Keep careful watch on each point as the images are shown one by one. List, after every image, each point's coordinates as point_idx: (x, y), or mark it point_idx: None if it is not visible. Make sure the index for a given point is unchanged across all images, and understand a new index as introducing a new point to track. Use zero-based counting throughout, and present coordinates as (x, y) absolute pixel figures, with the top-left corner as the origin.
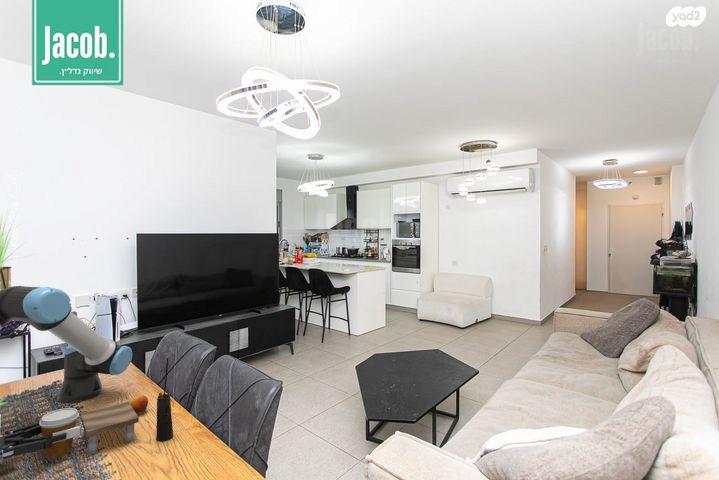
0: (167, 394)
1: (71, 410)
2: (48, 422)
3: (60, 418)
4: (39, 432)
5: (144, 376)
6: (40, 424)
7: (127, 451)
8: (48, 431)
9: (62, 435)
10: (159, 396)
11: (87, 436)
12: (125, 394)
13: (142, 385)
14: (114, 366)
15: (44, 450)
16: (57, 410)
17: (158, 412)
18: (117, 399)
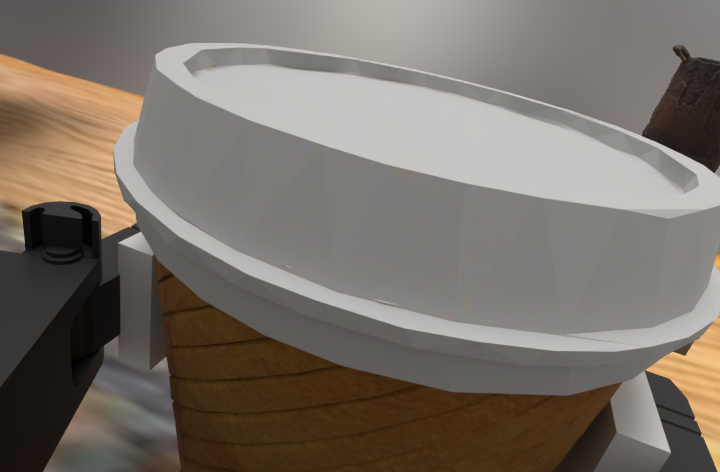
0: (701, 59)
1: (377, 82)
2: (678, 244)
3: (583, 163)
4: (39, 450)
5: (8, 57)
6: (432, 325)
7: (663, 372)
8: (567, 428)
9: (693, 416)
10: (691, 64)
11: (687, 347)
12: (46, 108)
13: (65, 84)
14: None
15: None
16: (219, 51)
17: (707, 152)
18: (42, 125)
